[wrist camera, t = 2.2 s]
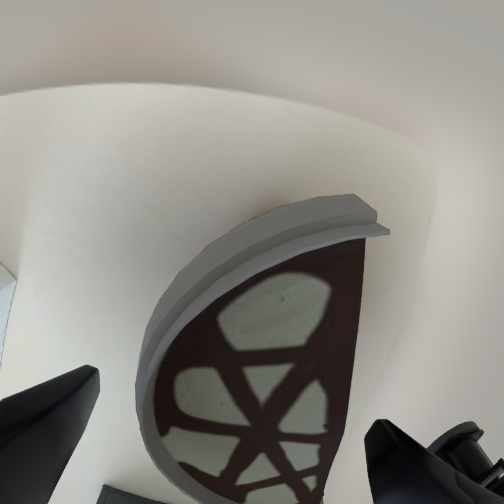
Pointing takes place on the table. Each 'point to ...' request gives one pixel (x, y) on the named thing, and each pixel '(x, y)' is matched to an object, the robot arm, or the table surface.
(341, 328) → the cake slice
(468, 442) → the robot arm
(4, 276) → the milk
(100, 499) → the storage box
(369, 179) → the table surface
